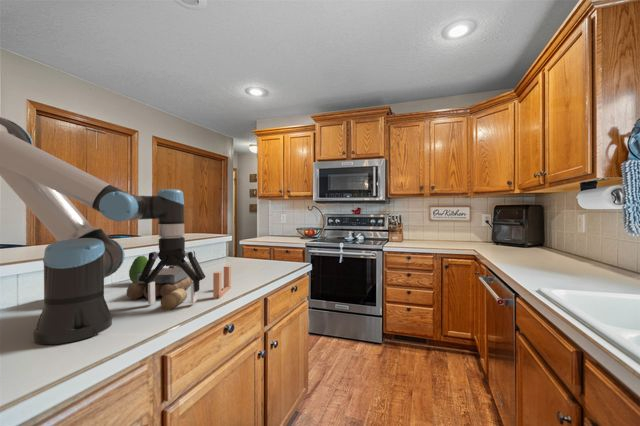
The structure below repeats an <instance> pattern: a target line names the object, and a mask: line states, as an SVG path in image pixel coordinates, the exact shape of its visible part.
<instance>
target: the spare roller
mask: <svg viewBox="0 0 640 426" xmlns="http://www.w3.org/2000/svg"><path fill="white" fill-rule="evenodd" d="M187 297H188V293H187V291H186V289H185V290H184V289H181V288H179V289H176V290H175V291H173V292H171V293H169V294H167V295H166V296H164V297H162V298H161V300H160V306H161V308H162V309H164V311H165V310H166V311H170V310H172V309H174V308H175V307H177V306H179V305H180V304H181V303H184V302H185V301H186V299H187Z"/></svg>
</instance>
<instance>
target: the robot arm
mask: <svg viewBox="0 0 640 426" xmlns="http://www.w3.org/2000/svg"><path fill="white" fill-rule="evenodd" d="M0 177H1V178H2V180H4V181H5V183H6V184H7V185H8V186H9V188H10V189H12V191H13V192H14V193H15V194H16V195H17V196H18V197H19V199H20V200H21V201H22V202H23V203H24V205H25V206H26V207H27V208H28V209H29V210H30V211H31V212H32V213H33V215H34V216H35V217H36V218H37V219H38V220H39V221H40V223H42V225H43V226H44V227H45V228H46V229H47V231H49V232H50V234H51V235H52V236H53V237H54V238H55V240H56V241H54V242H51V243H50V244H49V243H48V245H46V247H45V249H44V255H43V258H42V262H43V308H42V311H41V313H40V315H39V318H38V320H37V323H36V324H37V325H36V326H35V328H34V329H33V342H34V343H35V344H38V345H58V344H66V343H72V342H76V341H81V340H84V339H88V338H91V337H94V336H97V335H98V334H100V333H102V332H104V331H106V330H107V329H109V328H110V327H111V326H112V325H113V316H112V313H111V312H110V310H109V309H110V308H109V306H108V304H107V301H106V299H105V278H107V277H110V276H112V275H113V274H114V273H116V272H117V271H118V270H119V269H120V268H121V267H122V266H123V263H124V261H125V256H126V255H125V250H124V248H123V246H122V245H121V243H120V242H118V241H116V240H114V239H113V238H110V237H109V236H108V235H107V233H106V232H105V231H104V230H103V229H102V228H101V227H97V226H92V225H91V224H90V222H89V221H88V220H87V219H86V218H85V217H84V215H83V214H82V213H81V211H80V210H79V209H78V208H77V207H76V206H75V205H74V203H73V202H72V201H71V200H70V199H72V200H74V201H76V202H78V203H81V204H83V205H84V206H87V207H89V208H91V209H93V210H96V211H97V212H100V213H101V215H102V216H103V217H105V218H106V219H109V220H111V221H115V222H126V221H133V220H134V221H135V220H138V221H139V220H158V232H157V233H158V234H157V235H158V237H160V238H159V239H158V250H159V252H157V251H152V252H149V253H148V257H147V260H148V261H147V263H146V265H145V267H144V269H143V272H142V274H141V276H140V278H139V281H140V282H141V281H142V282H145V287H146V293H148V298H147V299H148V301H147V304H148V305H152V304H154V303H155V302H156V297H155V282H152V281H153V279H154V278H155V277H156V276H157V274H158V273H159V272H160V271H161V270H162V268H165V267H169V266H177V265H178V266H179V267H181V268H182V269H183V270H184V271H185V273H186V274H187V275H188V276H189V277H190V278H191V279H192V282H191V286H190V303H191V304H194V303H195V302H196V301H198V292H199V291H200V281H202V280H204V279H205V278H206V275H205V273H204V271H203V269H202V267H201V265H200V264H199V262H198V260H197V258H196V252H195V250H191V251H187V252H186V250H185V249H186V247H185V246H186V245H185V244H186V243H185V242H186V240H185V237H184V236H185V201H184V200H185V198H184V197H185V196H184V192H183V191H182V190H181V189H174V188H173V189H172V188H171V189H170V188H169V189H168V188H166V189H164V188H163V189H158V191H157V194H156V195H137V194H131V193H128V192H126V191H124V190H122V189H120V188H118V187H117V186H114V185H112V184H110V183H107V182H106V181H104V180H103V179H100V178H99V177H96V176H94V175H92V174H90V173H88V172H86V171H84V170H82V169H80V168H79V167H76V166H74V165H72V164H70V163H68V162H67V161H64V160H62V159H60V158H58V157H57V156H55V155H52V154H51V153H48V152H46V151H45V150H42V149H41V148H39V147H37V146H35V145H34V141H33V139H32V136H31V135H30V133H28V131H27V130H26V129H25V128H23V127H22V126H20V125H19V124H17V123H16V122H14V121H12V120H10V119H8V118H5V117H2V116H0ZM69 198H70V199H69ZM158 258H159V262H158V263H157V264H156V266H155V268H153V267H154V265H155V263H156V260H158ZM185 258H186V259H188V260H189V261H186V259H185ZM187 262H190V263H191V265H192V267H193V269H194V271H195V272H194V271H193V270H192V269H191V267H190V266H189V265H188V264H187ZM152 269H154V270H153V271H152V272H151V274H150V275H149V273H150V271H151V270H152ZM148 275H149V276H148Z"/></svg>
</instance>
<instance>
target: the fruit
mask: <svg viewBox="0 0 640 426" xmlns="http://www.w3.org/2000/svg"><path fill="white" fill-rule="evenodd" d="M147 261H148V257H146V256H144V255H139V256H137V257H136V258H135V259H134V260H133V262H132V264H131V266H130V268H129V269H128V277H129V279H130V281H131V282H132V284H133V285H134V284H136V283H137V275H138V274H141V273H142V272H143V269H144V267H145V265H146V263H147Z"/></svg>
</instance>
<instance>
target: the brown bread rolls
mask: <svg viewBox="0 0 640 426" xmlns="http://www.w3.org/2000/svg"><path fill="white" fill-rule="evenodd" d="M191 282H193V280H192V281H191V279H190V277H186V278H184V279H182V280H180V281H178V282H176V283H155V298H158V297H159V296H161V297H162V298H163V297H164V296H166V295H167V294H169V293H171V292H173V291H175V290H176V289H179V288H181V289H184V290H185V291H186V290H187V289H189V288H191ZM126 295H127V297H128V299H131V300H136V299H139V298H141V297H145V298H146V299H148V293H146V287H145V283H136V284H134V283H133V284H131V285H130V286H128V287H127V289H126Z"/></svg>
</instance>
